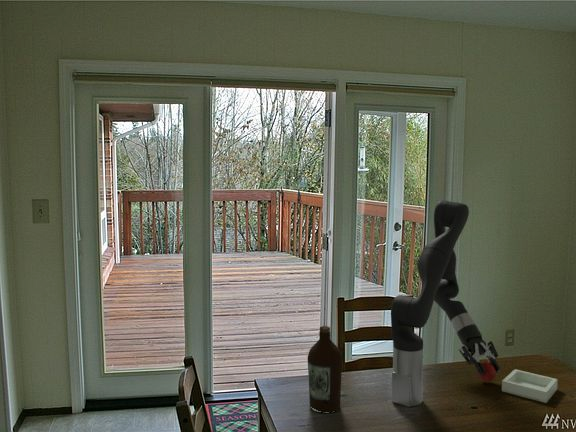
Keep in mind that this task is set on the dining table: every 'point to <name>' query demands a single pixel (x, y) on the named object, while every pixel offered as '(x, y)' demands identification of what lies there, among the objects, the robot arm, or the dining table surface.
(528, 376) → the bin
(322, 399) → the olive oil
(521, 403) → the dining table surface
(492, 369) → the onion
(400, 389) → the robot arm
